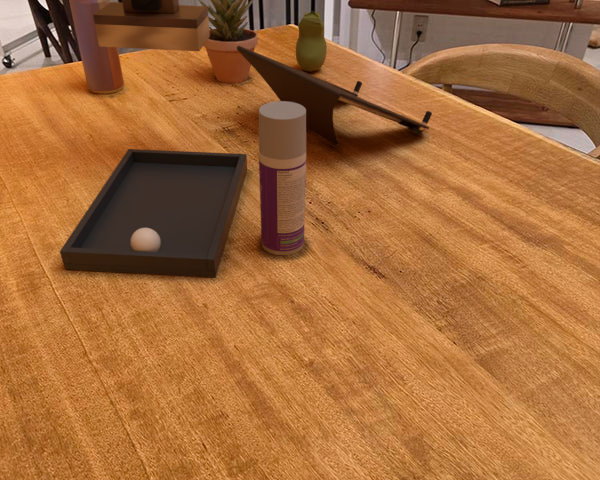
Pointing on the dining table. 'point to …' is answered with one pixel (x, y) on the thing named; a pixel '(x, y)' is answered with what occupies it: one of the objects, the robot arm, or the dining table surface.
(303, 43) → the pear
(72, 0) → the beverage can
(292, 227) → the container
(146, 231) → the white ball
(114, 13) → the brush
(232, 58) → the potted plant
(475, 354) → the dining table surface
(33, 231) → the dining table surface
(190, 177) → the tray
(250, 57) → the laptop stand
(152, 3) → the robot arm
